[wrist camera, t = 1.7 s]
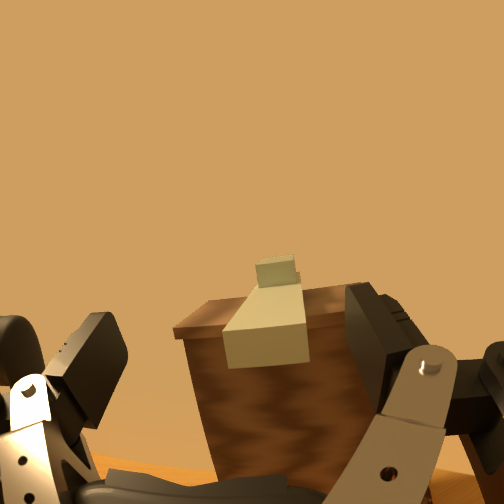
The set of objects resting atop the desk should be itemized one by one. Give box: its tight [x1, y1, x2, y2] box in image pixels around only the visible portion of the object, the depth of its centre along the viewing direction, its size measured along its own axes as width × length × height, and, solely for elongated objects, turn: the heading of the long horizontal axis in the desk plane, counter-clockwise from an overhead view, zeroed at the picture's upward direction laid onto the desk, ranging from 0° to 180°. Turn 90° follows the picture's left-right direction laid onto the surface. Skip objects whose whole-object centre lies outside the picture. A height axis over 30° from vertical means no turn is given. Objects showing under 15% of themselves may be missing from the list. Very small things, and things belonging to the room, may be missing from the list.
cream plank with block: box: [222, 254, 310, 369], centre depth 24 cm, size 4×20×4 cm, turn 172°
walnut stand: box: [173, 283, 375, 495], centre depth 29 cm, size 17×11×32 cm, turn 82°
